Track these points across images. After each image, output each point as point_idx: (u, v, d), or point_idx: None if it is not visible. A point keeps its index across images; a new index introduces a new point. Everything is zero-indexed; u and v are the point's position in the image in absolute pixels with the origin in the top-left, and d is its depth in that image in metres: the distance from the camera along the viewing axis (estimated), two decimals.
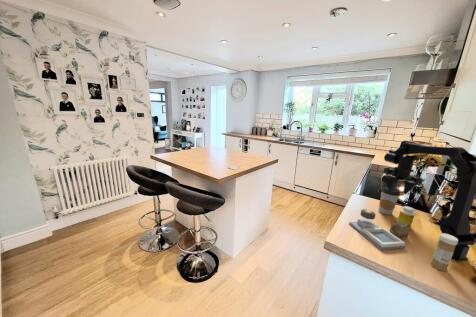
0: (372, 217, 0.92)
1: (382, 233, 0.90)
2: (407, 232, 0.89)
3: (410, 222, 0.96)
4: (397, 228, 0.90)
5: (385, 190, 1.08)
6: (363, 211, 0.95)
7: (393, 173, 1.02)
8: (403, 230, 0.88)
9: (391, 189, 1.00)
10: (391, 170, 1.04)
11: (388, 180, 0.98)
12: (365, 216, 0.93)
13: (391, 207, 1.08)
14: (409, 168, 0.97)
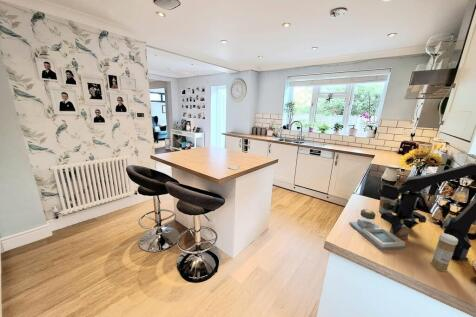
0: (372, 217, 0.92)
1: (382, 233, 0.90)
2: (407, 232, 0.89)
3: None
4: None
5: None
6: (363, 211, 0.95)
7: (394, 210, 0.91)
8: (403, 230, 0.88)
9: (396, 228, 0.89)
10: (392, 206, 0.92)
11: (388, 219, 0.86)
12: (365, 216, 0.93)
13: None
14: (412, 206, 0.85)
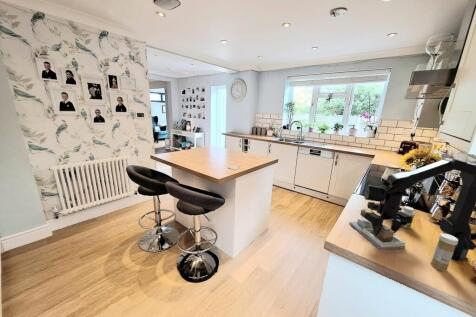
0: None
1: None
2: (391, 235, 0.84)
3: None
4: (381, 231, 0.85)
5: None
6: (363, 211, 0.95)
7: (378, 210, 0.85)
8: (387, 233, 0.83)
9: (376, 230, 0.83)
10: (376, 205, 0.87)
11: (371, 220, 0.81)
12: None
13: None
14: (396, 206, 0.80)
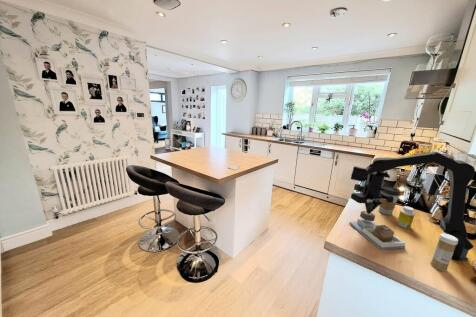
0: (372, 219, 0.92)
1: None
2: (391, 235, 0.84)
3: (410, 222, 0.96)
4: (381, 231, 0.85)
5: (385, 190, 1.08)
6: (363, 213, 0.95)
7: (363, 190, 0.94)
8: (387, 233, 0.83)
9: (368, 208, 0.92)
10: (361, 187, 0.95)
11: (356, 199, 0.90)
12: (365, 218, 0.93)
13: (391, 207, 1.08)
14: (379, 186, 0.88)
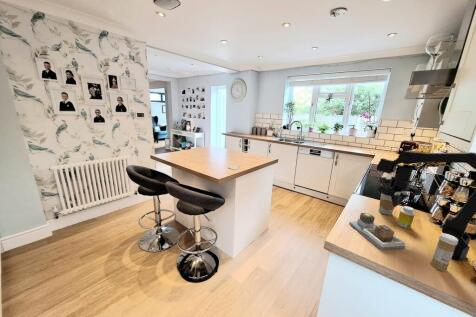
0: (371, 220, 0.92)
1: None
2: (391, 235, 0.84)
3: (410, 222, 0.96)
4: (381, 231, 0.85)
5: None
6: (362, 214, 0.96)
7: (390, 183, 0.94)
8: (387, 233, 0.83)
9: (395, 201, 0.92)
10: (388, 180, 0.95)
11: (384, 192, 0.90)
12: (364, 219, 0.93)
13: (391, 207, 1.08)
14: (407, 179, 0.88)
